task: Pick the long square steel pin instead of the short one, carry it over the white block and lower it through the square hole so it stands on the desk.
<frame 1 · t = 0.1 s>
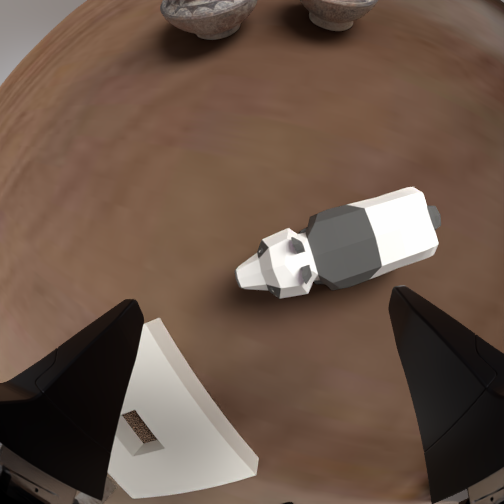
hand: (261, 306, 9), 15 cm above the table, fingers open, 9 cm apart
giant panda: (336, 249, 24), on the table
long pin: (103, 479, 25), on the table
pottery: (272, 21, 26), on the table
hole block: (145, 422, 24), on the table
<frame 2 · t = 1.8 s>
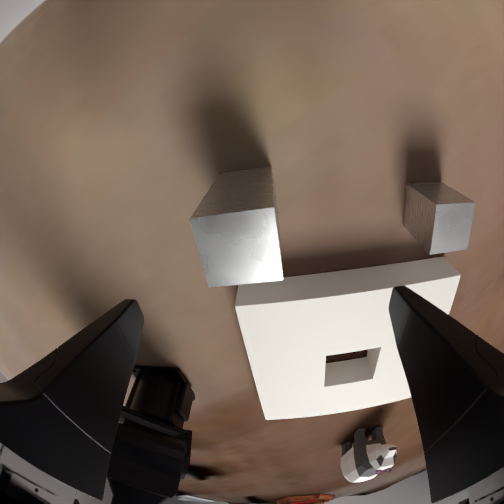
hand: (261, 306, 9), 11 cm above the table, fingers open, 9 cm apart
short pin: (422, 203, 18), on the table
giant panda: (364, 432, 37), on the table
long pin: (249, 193, 19), on the table
figurine with light: (305, 498, 72), on the table
hole block: (345, 345, 25), on the table
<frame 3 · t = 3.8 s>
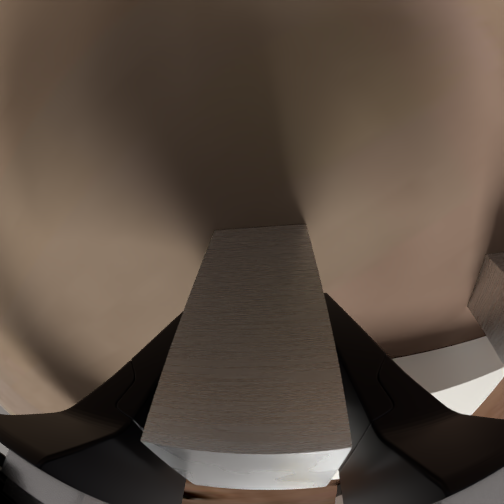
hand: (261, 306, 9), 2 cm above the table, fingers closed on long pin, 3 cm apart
short pin: (495, 278, 11), on the table
long pin: (263, 266, 11), on the table, touching gripper
hole block: (362, 422, 18), on the table
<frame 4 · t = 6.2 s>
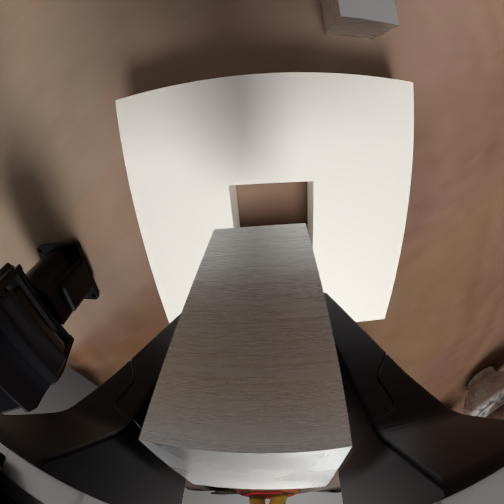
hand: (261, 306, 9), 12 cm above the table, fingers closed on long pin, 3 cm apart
short pin: (346, 15, 13), on the table
long pin: (263, 265, 11), point 10 cm above the table, touching gripper
figurine with light: (267, 489, 69), on the table
pottery: (453, 398, 35), on the table
hole block: (272, 204, 20), on the table
when the fingers open (4 cm above the table, at t = 8.9 s): long pin drops 2 cm, resting in hole block.
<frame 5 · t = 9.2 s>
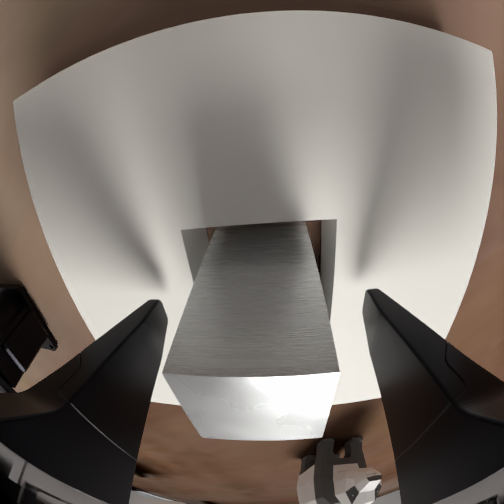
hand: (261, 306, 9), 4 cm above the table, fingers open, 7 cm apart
giant panda: (333, 444, 25), on the table
long pin: (264, 246, 13), resting in hole block
hole block: (265, 247, 12), on the table
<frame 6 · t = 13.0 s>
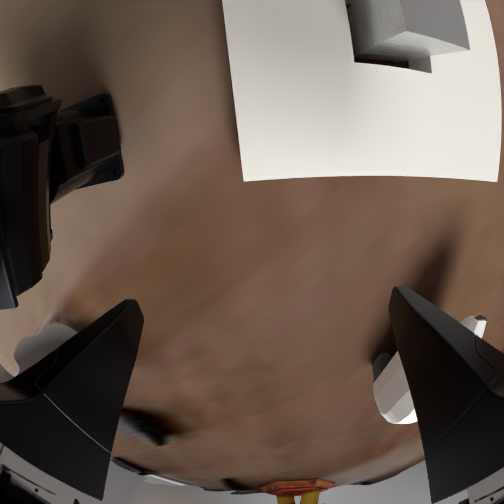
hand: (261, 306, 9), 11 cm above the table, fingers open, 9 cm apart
giant panda: (409, 331, 25), on the table
long pin: (372, 37, 12), resting in hole block
figurine with light: (297, 485, 61), on the table
hole block: (372, 37, 12), on the table
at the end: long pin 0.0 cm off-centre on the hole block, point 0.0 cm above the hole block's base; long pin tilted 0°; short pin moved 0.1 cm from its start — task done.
